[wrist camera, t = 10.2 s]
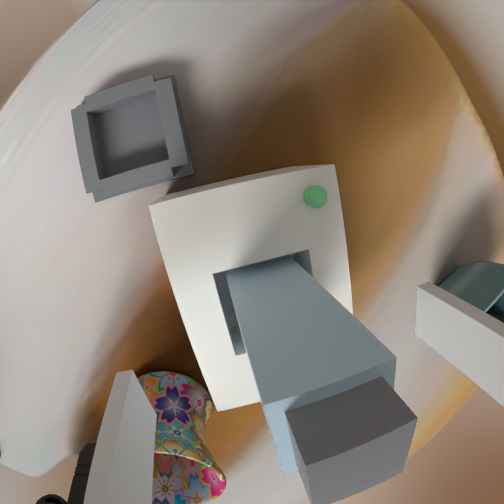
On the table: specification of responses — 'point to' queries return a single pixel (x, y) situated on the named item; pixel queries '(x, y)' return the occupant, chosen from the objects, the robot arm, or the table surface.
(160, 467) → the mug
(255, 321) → the plug
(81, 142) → the holster
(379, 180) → the table surface
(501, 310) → the flower pot
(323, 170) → the port panel
